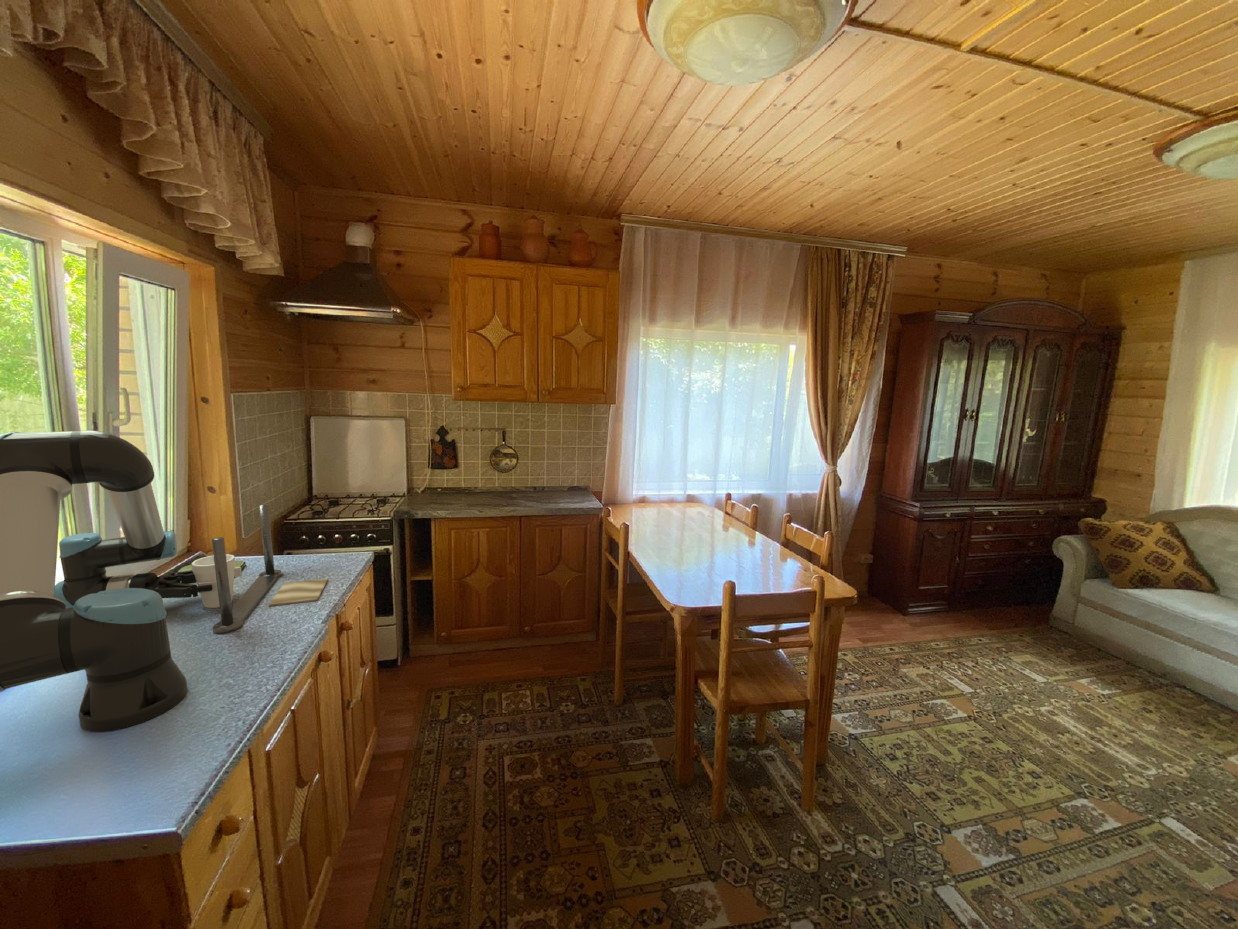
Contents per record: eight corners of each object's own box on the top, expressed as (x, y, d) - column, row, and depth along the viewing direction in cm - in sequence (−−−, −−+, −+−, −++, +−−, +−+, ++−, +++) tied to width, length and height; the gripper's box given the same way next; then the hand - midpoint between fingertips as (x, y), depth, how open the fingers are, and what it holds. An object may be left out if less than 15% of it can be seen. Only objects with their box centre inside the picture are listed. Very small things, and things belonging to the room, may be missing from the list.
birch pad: (317, 600, 143) (317, 599, 143) (268, 606, 139) (268, 604, 139) (328, 580, 158) (327, 578, 158) (284, 584, 154) (284, 583, 153)
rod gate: (237, 631, 125) (227, 541, 121) (209, 635, 123) (197, 543, 119) (283, 572, 164) (277, 502, 160) (262, 574, 161) (255, 503, 157)
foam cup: (232, 607, 138) (227, 564, 136) (191, 612, 134) (185, 567, 132) (243, 594, 146) (239, 552, 144) (205, 598, 143) (200, 556, 141)
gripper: (157, 585, 144) (249, 576, 152) (112, 619, 123) (220, 606, 131) (154, 561, 142) (246, 553, 150) (108, 591, 122) (217, 580, 130)
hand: (234, 578), depth 141 cm, fingers closed on foam cup, 9 cm apart
